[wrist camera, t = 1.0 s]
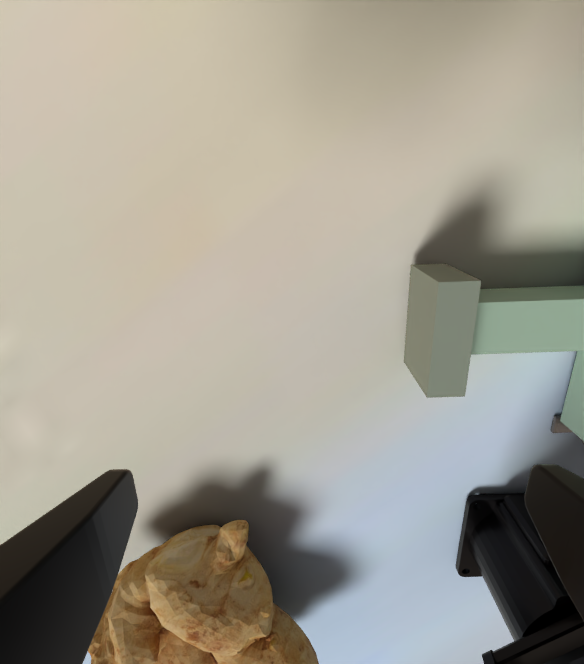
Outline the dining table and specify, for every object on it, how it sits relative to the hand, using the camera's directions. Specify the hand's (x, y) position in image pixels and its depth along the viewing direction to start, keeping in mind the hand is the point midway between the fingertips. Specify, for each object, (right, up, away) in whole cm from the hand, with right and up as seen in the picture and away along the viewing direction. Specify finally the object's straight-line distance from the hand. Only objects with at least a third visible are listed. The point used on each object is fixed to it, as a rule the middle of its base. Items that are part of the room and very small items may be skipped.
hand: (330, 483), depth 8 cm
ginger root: (-7, -14, +18) cm, 24 cm away
